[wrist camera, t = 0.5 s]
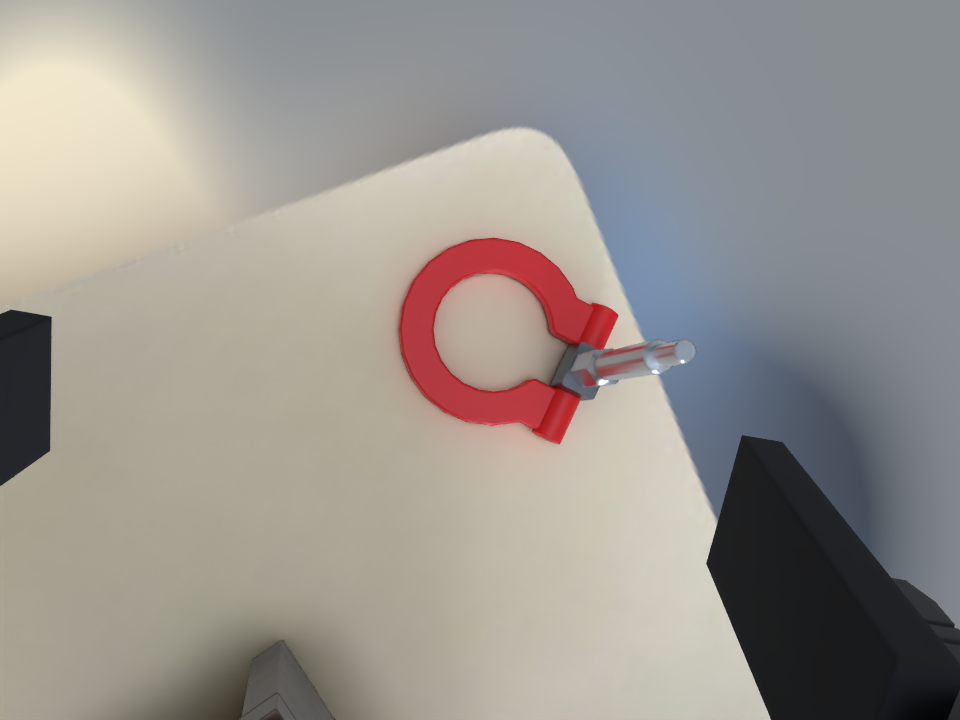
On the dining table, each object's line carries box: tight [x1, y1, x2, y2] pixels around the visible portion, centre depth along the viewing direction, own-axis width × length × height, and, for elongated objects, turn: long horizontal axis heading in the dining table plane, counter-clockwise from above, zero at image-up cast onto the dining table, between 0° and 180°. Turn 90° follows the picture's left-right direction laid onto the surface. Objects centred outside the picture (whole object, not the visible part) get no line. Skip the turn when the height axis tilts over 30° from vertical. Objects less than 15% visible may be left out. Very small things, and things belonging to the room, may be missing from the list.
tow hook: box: [399, 238, 696, 444], centre depth 31 cm, size 8×13×9 cm
